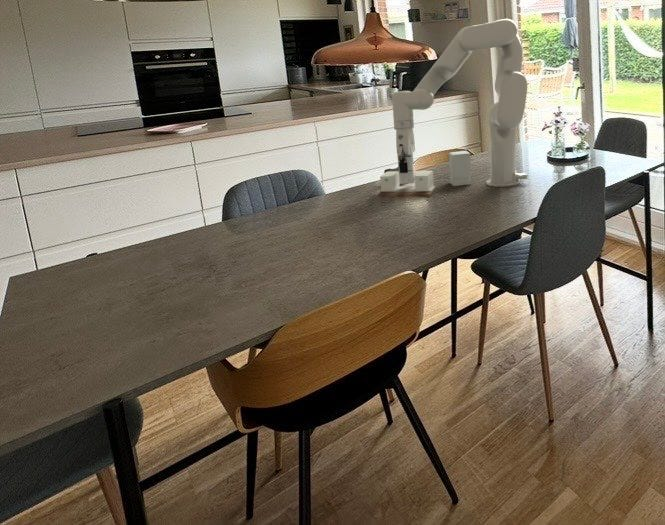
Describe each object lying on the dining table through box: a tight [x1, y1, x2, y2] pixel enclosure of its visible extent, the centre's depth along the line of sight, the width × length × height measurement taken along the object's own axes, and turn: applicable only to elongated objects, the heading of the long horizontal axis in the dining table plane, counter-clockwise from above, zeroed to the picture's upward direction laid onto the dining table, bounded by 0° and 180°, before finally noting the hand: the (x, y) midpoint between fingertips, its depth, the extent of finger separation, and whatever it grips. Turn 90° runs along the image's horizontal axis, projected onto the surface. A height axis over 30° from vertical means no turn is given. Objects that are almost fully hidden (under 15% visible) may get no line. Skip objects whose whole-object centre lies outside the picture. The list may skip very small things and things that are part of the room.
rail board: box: [377, 185, 438, 198], centre depth 226 cm, size 21×12×2 cm, turn 67°
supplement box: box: [448, 150, 472, 187], centre depth 230 cm, size 7×7×13 cm
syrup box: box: [397, 147, 415, 185], centre depth 222 cm, size 6×6×14 cm
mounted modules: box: [379, 170, 435, 191], centre depth 224 cm, size 19×9×6 cm, turn 67°
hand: (406, 170), depth 223 cm, fingers closed on syrup box, 6 cm apart
